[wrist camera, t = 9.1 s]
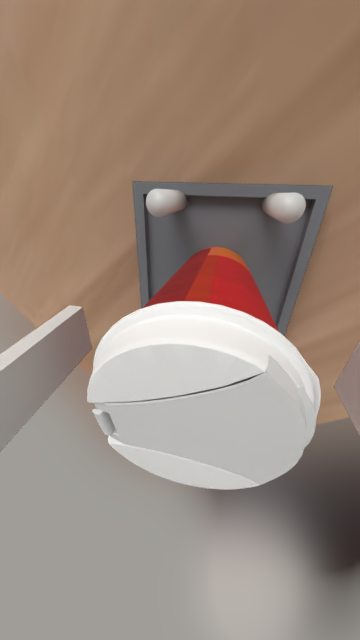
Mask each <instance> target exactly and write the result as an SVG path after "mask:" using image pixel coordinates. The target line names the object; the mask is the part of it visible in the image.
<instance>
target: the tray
mask: <svg viewBox="0 0 360 640" xmlns="http://www.w3.org/2000/svg"><path fill="white" fill-rule="evenodd" d="M332 188H333V186H321V185H276V184H232V183H187V182H143V181H133V195H134V209H135V223H136V237H137V251H138V265H139V279H140V293H141V307H142V308H143V307H144V306H145V305H146V304H147V303H148V302H149V300H150V299H151V298H152V297H153V296H154V295H155V294H156V293H157V292H158V291H159V290H160V289H161V288H162V287H163V286H164V285H165V283H166V282H167V281H168V280H169V279H170V278H171V277H172V276H173V275H174V274H175V273H176V272H177V271H178V270H179V269H180V268H181V267H182V266H183V265H184V264H185V263H186V262H187V261H188V260H189V259H190V258H191V257H192V256H193V255H194V254H196V253H197V252H199V251H201V250H203V249H206V248H210V247H223V248H227V249H229V250H232V251H234V252H235V253H237V254H238V255H239V256H240V257H241V258H242V259H243V261H244V262H245V263H246V265H247V267H248V269H249V270H250V272H251V274H252V276H253V278H254V280H255V282H256V285H257V287H258V289H259V291H260V293H261V295H262V297H263V299H264V301H265V303H266V305H267V307H268V310H269V312H270V314H271V316H272V318H273V320H274V322H275V324H276V326H277V329H278V331H279V332H280V333H281V334H282V335H283V336H284V335H285V332H286V329H287V326H288V323H289V320H290V317H291V313H292V310H293V307H294V304H295V301H296V298H297V295H298V292H299V289H300V286H301V283H302V280H303V277H304V274H305V271H306V268H307V265H308V262H309V259H310V255H311V252H312V249H313V246H314V243H315V240H316V237H317V234H318V231H319V228H320V225H321V222H322V219H323V216H324V213H325V210H326V207H327V204H328V200H329V197H330V194H331V191H332Z"/></svg>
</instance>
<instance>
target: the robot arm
mask: <svg viewBox="0 0 360 640" xmlns="http://www.w3.org/2000/svg"><path fill="white" fill-rule="evenodd" d="M91 349H92V345H91V341H90V336H89V332H88V328H87V324H86V319H85V315H84V311H83V307H78V306H70V305H69V306H68V307H67V308H65V309H64V310H62V311H61V312H60V313H58V314H57V315H55V316H54V317H53V318H51V319H50V320H48V321H47V322H45V323H44V324H43V325H41V326H40V327H38V328H37V329H36V330H34V331H33V332H31V333H30V334H28V335H27V336H26V337H24V338H23V339H21V340H20V341H19V342H17V343H16V344H14V345H13V346H12V347H10V348H9V349H7V350H6V351H4V352H3V353H1V354H0V452H1V451H2V450H3V449H4V447H5V446H6V445H7V444H8V443H9V442H10V441H11V439H12V438H13V437H14V436H15V435H16V434H17V433H18V432H19V430H20V429H21V428H22V427H23V426H24V425H25V424H26V423H27V421H28V420H29V419H30V418H31V417H32V416H33V415H34V414H35V412H36V411H37V410H38V409H39V408H40V407H41V406H42V404H43V403H44V402H45V401H46V400H47V399H48V398H49V397H50V395H51V394H52V393H53V392H54V391H55V390H56V389H57V387H58V386H59V385H60V384H61V383H62V382H63V381H64V380H65V378H66V377H67V376H68V375H69V374H70V373H71V372H72V371H73V369H74V368H75V367H76V366H77V365H78V364H79V363H80V362H81V360H82V359H83V358H84V357H85V356H86V355H87V354H88V353H89V351H90V350H91ZM334 388H335V389H336V391H337V393H338V395H339V397H340V399H341V401H342V403H343V405H344V407H345V409H346V411H347V412H348V414H349V416H350V418H351V420H352V422H353V424H354V426H355V428H356V430H357V432H358V433H359V435H360V342H359V343H358V345H357V346H356V348H355V350H354V352H353V353H352V355H351V357H350V359H349V361H348V362H347V364H346V366H345V368H344V369H343V371H342V373H341V375H340V377H339V378H338V380H337V382H336V384H335V385H334Z"/></svg>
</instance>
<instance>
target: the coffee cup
mask: <svg viewBox="0 0 360 640" xmlns="http://www.w3.org/2000/svg"><path fill="white" fill-rule="evenodd" d="M320 398H321V391H320V384H319V379H318V377H317V375H316V374H315V373H314V372H313V370H312V369H311V368H310V367H309V365H308V364H307V363H306V361H305V360H304V358H303V357H302V356H301V354H300V353H299V351H298V350H297V349H296V347H295V346H294V345H293V344H292V343H291V342H290V341H288V340H287V339H286V338H285V337H284V336H283V335H282V334H281V333H280V332H279V331H278V329H277V326H276V324H275V322H274V320H273V318H272V316H271V314H270V312H269V310H268V307H267V305H266V303H265V301H264V299H263V297H262V295H261V293H260V291H259V289H258V287H257V285H256V282H255V280H254V278H253V276H252V274H251V272H250V270H249V269H248V267H247V265H246V263H245V262H244V261H243V259H242V258H241V257H240V256H239V255H238V254H237V253H235V252H234V251H232V250H229V249H227V248H223V247H210V248H206V249H203V250H201V251H199V252H197V253H196V254H194V255H193V256H192V257H191V258H190V259H189V260H188V261H187V262H186V263H185V264H184V265H183V266H182V267H181V268H180V269H179V270H178V271H177V272H176V273H175V274H174V275H173V276H172V277H171V278H170V279H169V280H168V281H167V282H166V283H165V285H164V286H163V287H162V288H161V289H160V290H159V291H158V292H157V293H156V294H155V295H154V296H153V297H152V298H151V299H150V300H149V302H148V303H147V304H146V305H145V306H144V307H143V308H142V309H139V310H137V311H135V312H133V313H131V314H129V315H127V316H125V317H123V318H122V319H121V320H119V321H118V322H117V323H116V324H114V325H113V326H112V327H111V328H110V329H109V330H108V332H107V333H106V334H105V335H104V336H103V337H102V339H101V341H100V343H99V345H98V347H97V349H96V353H95V357H94V361H93V373H92V375H91V378H90V381H89V386H88V389H87V402H93V403H94V405H95V407H96V409H93V410H92V412H93V414H94V416H95V418H96V420H97V422H98V424H99V426H100V427H101V429H102V431H103V433H104V434H106V435H107V436H109V437H108V441H109V443H108V444H110V445H111V446H112V447H113V448H114V449H115V450H116V451H117V452H118V453H120V454H121V455H122V456H123V457H125V458H126V459H128V460H129V461H131V462H132V463H134V464H135V465H137V466H139V467H141V468H143V469H145V470H146V471H148V472H151V473H153V474H155V475H158V476H160V477H163V478H165V479H169V480H171V481H174V482H178V483H182V484H185V485H191V486H196V487H201V488H210V489H242V488H249V487H255V486H258V485H261V484H264V483H266V482H268V481H271V480H273V479H275V478H277V477H279V476H280V475H282V474H284V473H286V472H287V471H289V470H290V469H291V468H292V467H293V466H295V465H296V463H297V462H298V460H299V459H300V457H301V456H302V454H303V450H304V448H305V447H306V446H307V445H308V444H309V442H310V441H311V439H312V437H313V435H314V431H315V426H316V416H317V413H318V410H319V408H320Z"/></svg>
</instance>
